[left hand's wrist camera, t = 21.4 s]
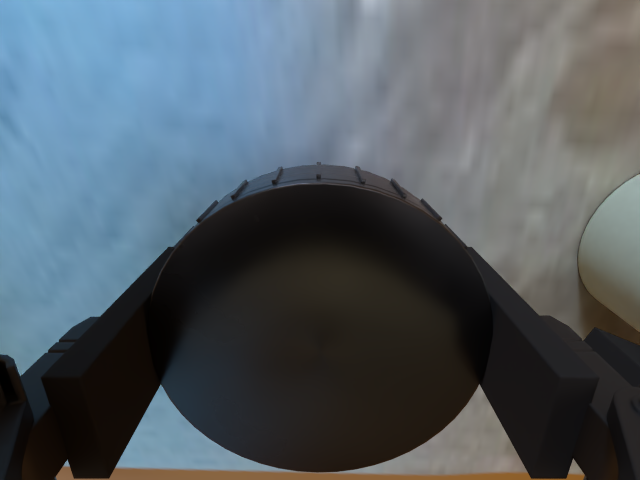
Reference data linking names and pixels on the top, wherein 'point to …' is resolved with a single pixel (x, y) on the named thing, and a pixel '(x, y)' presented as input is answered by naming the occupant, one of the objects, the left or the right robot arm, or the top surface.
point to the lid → (320, 321)
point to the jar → (614, 253)
